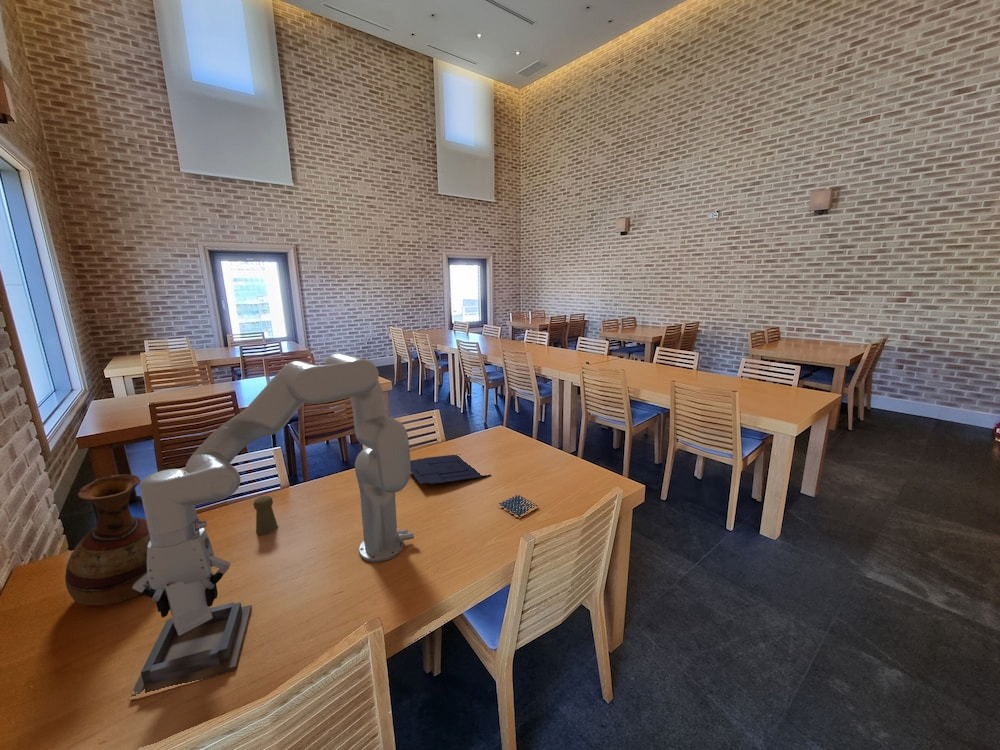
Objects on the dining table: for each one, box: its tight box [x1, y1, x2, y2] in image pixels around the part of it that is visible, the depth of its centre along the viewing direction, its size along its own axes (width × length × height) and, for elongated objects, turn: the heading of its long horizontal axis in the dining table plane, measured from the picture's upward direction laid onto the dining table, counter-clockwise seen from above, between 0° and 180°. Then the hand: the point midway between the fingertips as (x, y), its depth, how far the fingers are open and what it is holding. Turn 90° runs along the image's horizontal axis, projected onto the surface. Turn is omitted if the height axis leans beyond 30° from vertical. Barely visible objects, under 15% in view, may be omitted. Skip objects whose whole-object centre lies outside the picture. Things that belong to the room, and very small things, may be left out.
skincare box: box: [165, 581, 213, 636], centre depth 83 cm, size 6×4×12 cm
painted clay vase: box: [64, 473, 150, 606], centre depth 100 cm, size 20×20×30 cm
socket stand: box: [130, 601, 253, 697], centre depth 85 cm, size 17×17×4 cm
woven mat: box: [498, 494, 538, 517], centre depth 140 cm, size 10×11×2 cm
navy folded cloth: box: [410, 454, 483, 485], centre depth 165 cm, size 24×30×4 cm
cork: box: [253, 495, 279, 536], centre depth 126 cm, size 6×6×11 cm
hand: (189, 606), depth 83 cm, fingers closed on skincare box, 7 cm apart
